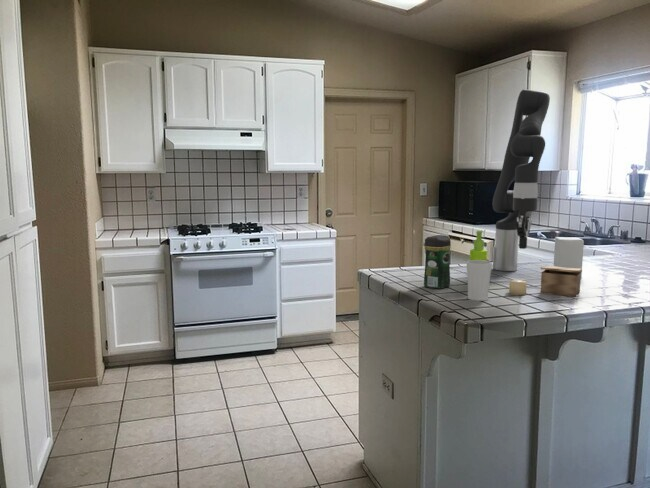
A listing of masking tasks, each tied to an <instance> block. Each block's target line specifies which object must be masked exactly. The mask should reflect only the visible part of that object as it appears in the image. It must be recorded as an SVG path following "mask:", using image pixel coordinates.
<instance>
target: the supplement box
mask: <svg viewBox="0 0 650 488" xmlns="http://www.w3.org/2000/svg"><path fill="white" fill-rule="evenodd" d="M584 245H585V241H584V239H582V238H579V237H575V236H574V237H568V236H566V237H565V236H555V237H554V250H553V252H554V253H553V266H555V267H566V268H578V269H582V270H583V260H584ZM582 274H583V271H582V272H581V278H583V277H582Z"/></svg>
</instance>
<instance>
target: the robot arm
mask: <svg viewBox="0 0 650 488" xmlns="http://www.w3.org/2000/svg"><path fill="white" fill-rule="evenodd" d="M550 98H551V97H550V94H549V93H548V92H545V91H541V90H532V89H522V90H521V91H520V92H519V94H518V97H517V102H516V105H515V111H514V116H513V121H512V128H511V131H510V136H509V139H508V143H507V146H506V151H505V154H504V159H503V164H502V167H501V168H502V169H501V173H500V176H499V179H498V182H497V185H496V188H495V190H494V194H493V197H492V209H493V211H494V212H496V213H498V214H499V213H503V214H504V213H507V214H508V215H507V216H506V217H505V218H503V219H500V220H498V221H496V223H495V237H494V238H495V240H494V241H495V243H494V246H493V254H492V270H496V271H501V272H516V271H518V261H519V259H518V256H519V249H523V250H525V249H527V248H528V237H529V235H530V233H531V232H530V231H531V227H532V222H533V220H532V219H533V218H532V216H531V212H536V211H537V210H538V193H539V192H538V191H539V190H538V189H539V188H538V176H539V175H538V174H539V168H540V167H539V166H540V163H541V160H542V157H543V154H544V151H545V150H546V140H545V138H544V137H543V136H542V135H541V133H542V127H543V123H544V122H545V118H546V117H547V113H548V110H549V106H550V100H551V99H550ZM524 116H526V117H525V118H524ZM530 158H531V161H530ZM513 182H514V186H513V190H509V188H510V186H511V184H512V183H513Z"/></svg>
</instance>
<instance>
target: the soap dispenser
mask: <svg viewBox="0 0 650 488" xmlns="http://www.w3.org/2000/svg"><path fill="white" fill-rule="evenodd" d="M475 233H476V239H474V240H473V248H471V249H469V260H484V261H488V250H487V249H485V248H484V247H485V240H483V239H482V236H483V235H482V234H483V233H484V232H483V230H476V232H475Z"/></svg>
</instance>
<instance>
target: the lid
mask: <svg viewBox="0 0 650 488" xmlns="http://www.w3.org/2000/svg"><path fill="white" fill-rule="evenodd" d="M540 270H543V271H544V270H555V271H566V272H577V273H578V272H582V273H583V268H582V269H578V268H566V267H555V266H554V265H545V266H541V267H540Z"/></svg>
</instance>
